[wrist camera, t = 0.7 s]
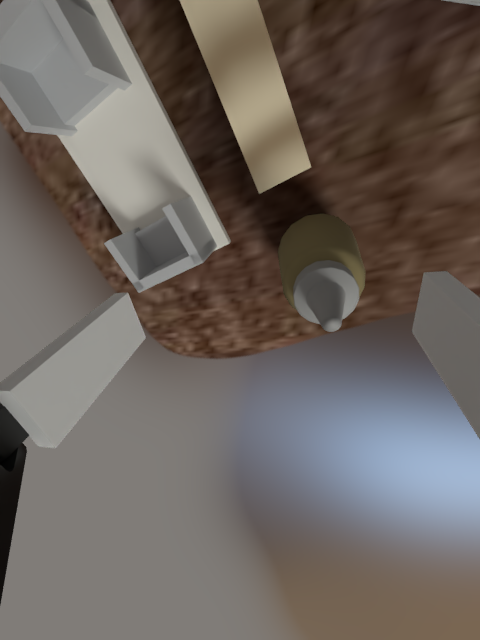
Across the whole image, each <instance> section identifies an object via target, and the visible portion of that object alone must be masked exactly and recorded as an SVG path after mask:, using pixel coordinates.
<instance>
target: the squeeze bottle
mask: <svg viewBox="0 0 480 640" xmlns="http://www.w3.org/2000/svg"><path fill="white" fill-rule="evenodd" d="M278 257H279V265H280V272H281V279H282V285H283V292H284V295H285V297H286V299H287V300H288V302H289V304H290V305H291V306H292V307H293V308H295V309H296V310H297V311H298V312H299V314H300V315H301V316H303V317H304V318H305V319H307V320H308V321H311V322H314V323H318V324H321V326H322V327H323V329H324V330H326V331H329V332H333V331H336V330H338V329H339V328H340V326H341V323H342V319H344V318H346V317H347V316H348V315H349V314H350V313H351V312H352V311H354V309H355V307H356V305H357V303H358V301H359V297H360V295H361V293H362V291H363V289H364V287H365V269H364V265H363V262H362V259H361V255H360V252H359V249H358V245H357V242H356V239H355V237H354V235H353V233H352V230H351V228H350V227H349V226H348V225H347V224H346V223H345V222H343V221H342V220H341V219H340V218H338V217H335V216H331V215H327V214H323V213H321V214H315V215H308V216H305V217H303V218H302V219H300V220H298V221H297V222H295V223H293V224H292V225H291V226H290V227H289V229H288V230H287V231H286V232H285V234H284V235H283V236H282V238H281V242H280V245H279V249H278Z"/></svg>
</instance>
